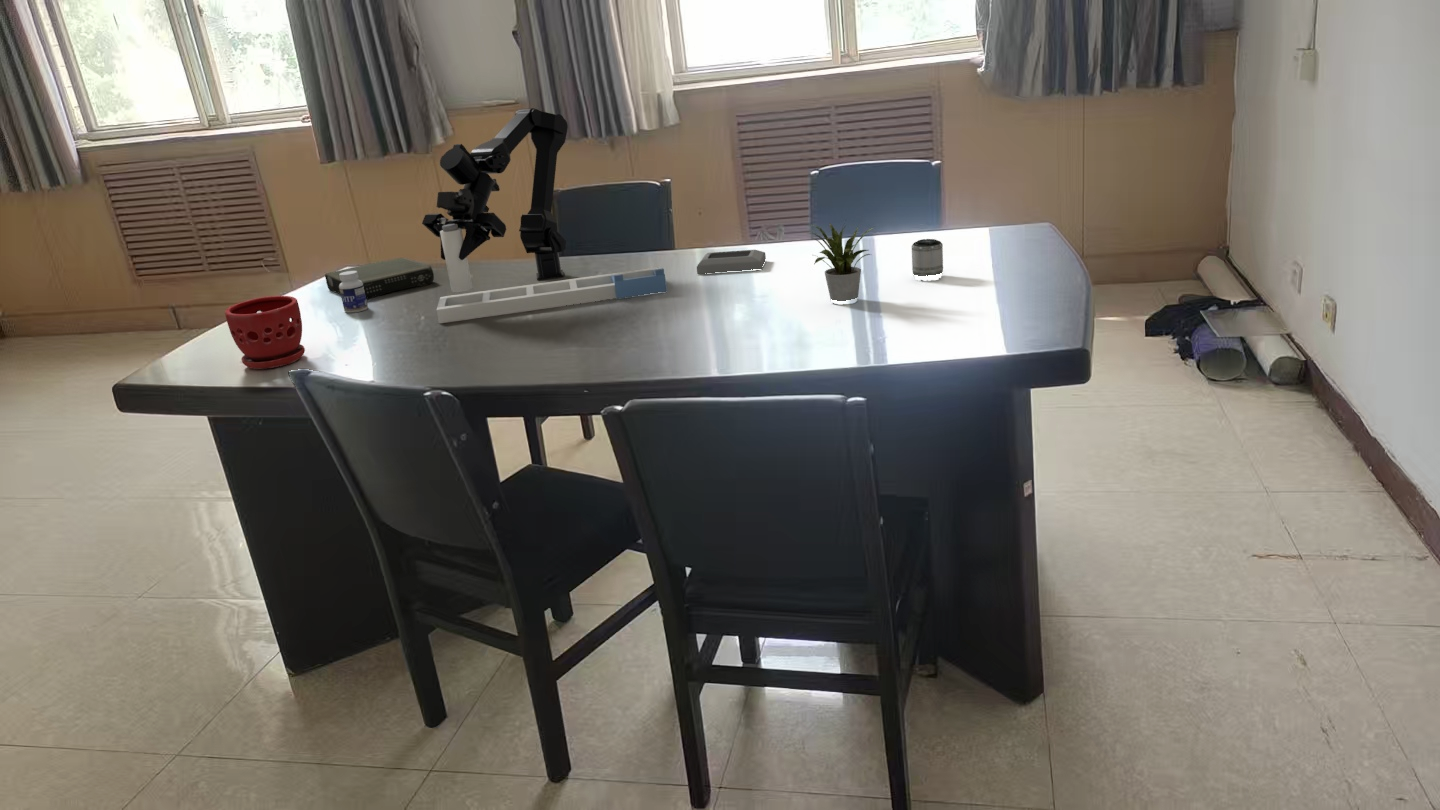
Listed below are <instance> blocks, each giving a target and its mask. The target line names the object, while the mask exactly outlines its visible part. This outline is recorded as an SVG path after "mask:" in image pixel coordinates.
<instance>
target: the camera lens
mask: <svg viewBox="0 0 1440 810" xmlns="http://www.w3.org/2000/svg"><path fill="white" fill-rule="evenodd" d="M943 244H944V243H942V242H941V241H940V240H937V239H936V238H934V239H933V238H926V239H925V238H924V239H918V240H917V241H915V242H912V245H911V270H912V275H913V274H914V275H918V276H926V275H927V276H928V275H936V274H940V273H942V272H944V257H943V256H944V255H943V254H944V253H943V252H944V251H943V250H944V249H943ZM942 274H943V273H942ZM914 275H913V276H914Z"/></svg>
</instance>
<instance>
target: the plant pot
mask: <svg viewBox="0 0 1440 810" xmlns="http://www.w3.org/2000/svg"><path fill="white" fill-rule="evenodd" d="M224 315H225V319H226V323H227V326H228V329H229V332H230V334H231V337H232V339H233V341H234V343H235V345H236V347H237V348H238V349H239V350H240V352H241V353H242V354H243V355H242V357H241V363H242V364H243V365H244V366H246V367H248V368H250V369H255V370H266V368H270V369H275V368H274V367H276V368H280V367H283V365H284V366H287V364H288V365H291V364H293V363H295V362H297V361H298V360H299V359H301V358H302V357H303V356H304V354H305V351H306V349H305V346H304V345H302V344H301V341H302V335H303V321H302V317H301V310H300V306H299V302H298V299H297V298H296V297H293V296H290V295H272V296H269V295H268V296H262V297H256V298H251V299H248V300H244V301H241V302H239V303H236V304H232V305H231V306H230V307H228V308H226V309H225V311H224ZM290 319H291V320H290ZM279 366H280V367H279Z"/></svg>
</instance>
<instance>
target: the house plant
mask: <svg viewBox="0 0 1440 810" xmlns="http://www.w3.org/2000/svg"><path fill="white" fill-rule="evenodd" d="M846 221H847V219H845V221H843V222H844V223H843V224H845V222H846ZM810 226H811V227H815V228H816V229H818V230H819V231H820V234H822V236H823V237H824V238H823V237H821V236H820V235H818V234H816V233H813V232H812V233H811V232H808V234H811V235H815V236H816V237H818V238H819V239H820V240H821V241H823V243H824V244H825V245H826V246H827V248H828V249H826V247H825V246H824V245H823V244H822V243H821V242H820V241H819V240H818V239H816V238H814V237H812V239H814V240H815V241H816V242H818V243H819V244H820V245H821V246H822V247H823V250H821V251H819V252H818V253H819V254H823V256H821V257H820V256H818V255H815V254H813V256H815V257H817V258H816V259H815V260H814V264H813V265H815V264H817V263H818V262H820V261H823V262H824V263H826V264H827V265H828V266H829V269H828V268H827V269H826V270H825V271H824V276H825V281H826V284H827V289H828V295H829V299H830V300H831V299H832V300H837V301H846V300H851V299H855V298H857V297H858V298H859V291H860V282H861V281H860V280H861V274H862V273H861V272H862V269H861V268H860V267H856V265H857V263H859V261H860V260H861V259H862V258H864V257H866V256H869V255H870V256H873V255H872V254H871V253H866V254H864V255H862V256H861V257H859V259H857V260H856V262H855V264H854V266H852V263H853V262H854V261H855V259H856V258H857V256H858V255H860V254H862V253H864V252H868V251H869V249H860V250H857V251H854V250H855V248H856V247H857V245H858V243H859V242H860V241H861V240H862V239H863V238H864V236H865V235H866V234H867V233H868V232H869V231H871V230H873V229H875V228H876V226H874V227H872V228H869V229H868V230H866V231H865V232H864V233H863V234H862V235H861V236H860V237H859V239H858V240H857V242H856V243H855V244H853V243H854V241H855V238H856V236H857V233H858V228H859V226H857V227H856V228H855V231H854V233H853V234H852V235H851V237H850V238H849V239H848V240H847V241H845V244H844V248H843V232H844V229H845V228H846V227H847V225H844V226H843V227H842V229H841V231H840V233H839V232H838V231H837V230H836V229H835V227H834V225H832V223H829V225H828V226H829V227H830V230H831V237H828V236H827V234H826V232H825V231H824V230H823V229H822V228H820V227H819V226H817V225H813V224H812V225H810ZM825 259H828V260H829V261H830V263H831V264H832V266H833V267H832V266H831V265H829V264H828V263H827V262H826V261H825Z"/></svg>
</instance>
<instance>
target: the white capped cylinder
mask: <svg viewBox="0 0 1440 810" xmlns="http://www.w3.org/2000/svg"><path fill="white" fill-rule="evenodd" d="M442 229H443V230H442V231H440V235H441V240H442V245H443V250H444V255H445V260H444V261H445V266H446V269H447V274H448V276H447V277H448V280H449V281H448V282H449V285H450V290H451V291H450V292H452V293H464V292H468V291H470V290H472V289H473V283H472V282H473V281H472V278H471V272H470V267H469V261H468V256H467V257H466V258H465V259H464V260H461V259H460V258H459V254H460V250H461V247H462V244H463V241H464V236H463V230H462V229H461V228H458V225H457V224H448V225H444V226H442ZM441 240H440V241H441Z"/></svg>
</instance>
